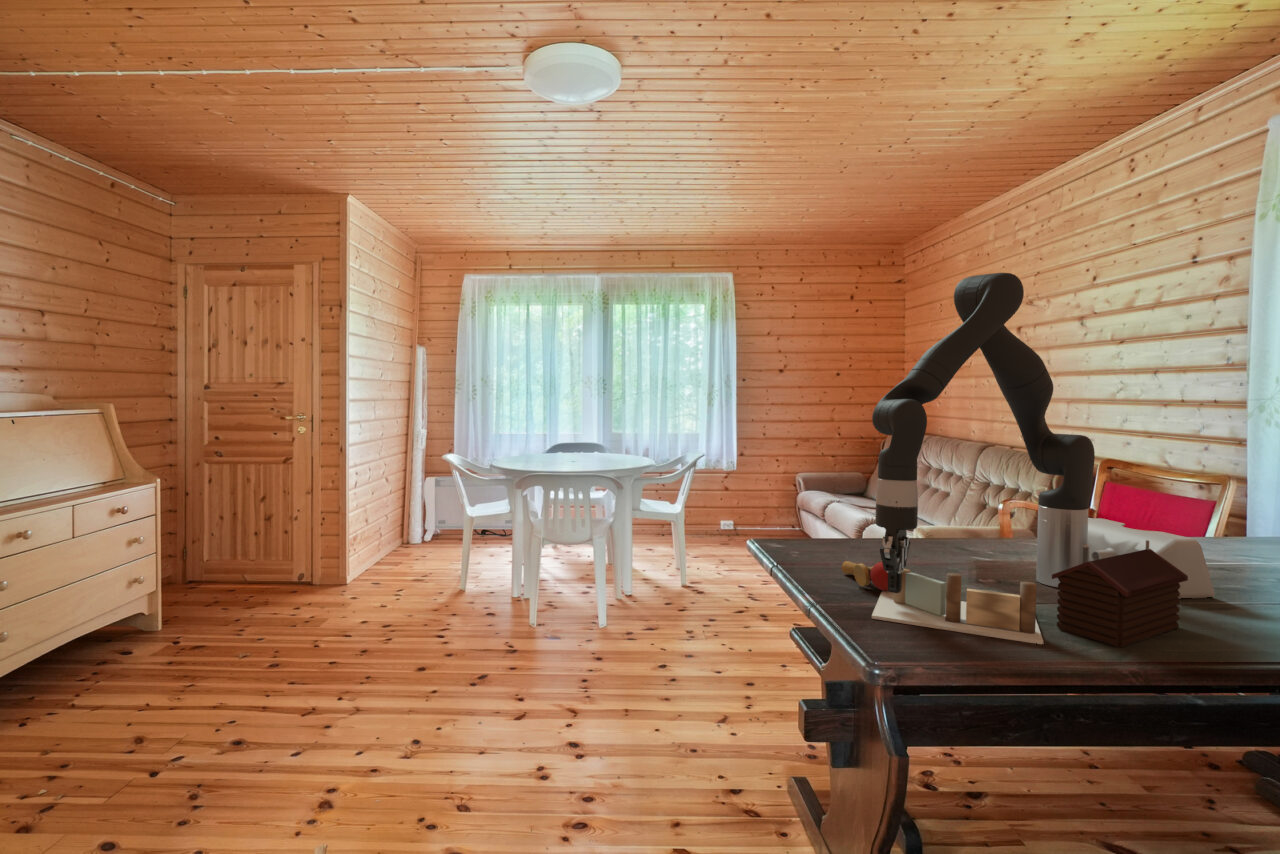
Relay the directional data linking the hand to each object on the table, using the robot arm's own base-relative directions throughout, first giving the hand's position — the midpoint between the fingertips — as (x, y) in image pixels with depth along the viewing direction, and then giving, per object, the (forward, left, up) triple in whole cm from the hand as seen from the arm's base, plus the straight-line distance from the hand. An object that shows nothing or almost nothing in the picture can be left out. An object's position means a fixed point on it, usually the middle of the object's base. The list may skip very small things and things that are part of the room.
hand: (894, 591), depth 121 cm
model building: (-36, -8, -4) cm, 38 cm away
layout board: (-10, -2, -4) cm, 11 cm away
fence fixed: (-16, +3, -4) cm, 17 cm away
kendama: (+7, -15, -4) cm, 17 cm away
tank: (-45, -44, -4) cm, 63 cm away
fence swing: (-4, -2, -3) cm, 5 cm away
